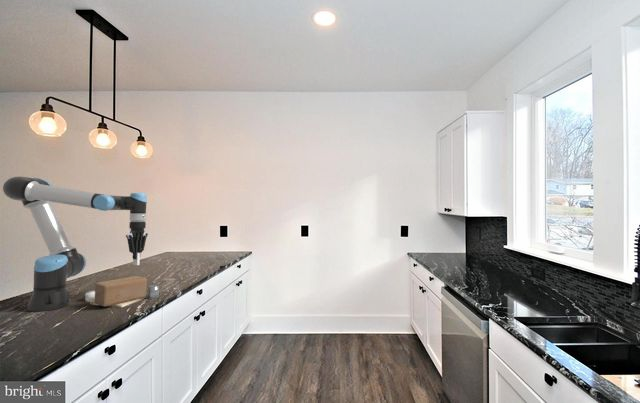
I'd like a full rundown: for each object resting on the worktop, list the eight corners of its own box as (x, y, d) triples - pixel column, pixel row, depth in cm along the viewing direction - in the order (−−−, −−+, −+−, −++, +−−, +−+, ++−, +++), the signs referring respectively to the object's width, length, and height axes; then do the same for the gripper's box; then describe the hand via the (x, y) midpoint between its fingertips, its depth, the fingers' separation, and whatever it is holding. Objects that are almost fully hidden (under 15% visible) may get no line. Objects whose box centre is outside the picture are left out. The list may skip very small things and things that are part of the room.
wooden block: (147, 297, 157) (103, 307, 140) (136, 293, 162) (93, 303, 145) (147, 277, 157) (104, 285, 140) (137, 275, 162) (94, 282, 145)
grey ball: (145, 298, 158) (146, 287, 158) (152, 295, 163) (152, 284, 163) (154, 299, 157) (154, 287, 157) (160, 296, 162) (161, 285, 162)
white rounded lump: (82, 301, 151) (82, 293, 151) (93, 297, 157) (93, 290, 157) (92, 302, 150) (92, 294, 150) (102, 298, 156) (103, 291, 156)
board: (89, 304, 147) (90, 302, 147) (117, 295, 163) (117, 293, 163) (121, 307, 143) (121, 305, 144) (146, 297, 159) (147, 295, 159)
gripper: (134, 222, 157) (132, 267, 156) (152, 221, 169) (151, 263, 169) (121, 221, 158) (120, 266, 157) (140, 220, 171) (139, 262, 170)
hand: (136, 264), depth 163 cm, fingers closed
